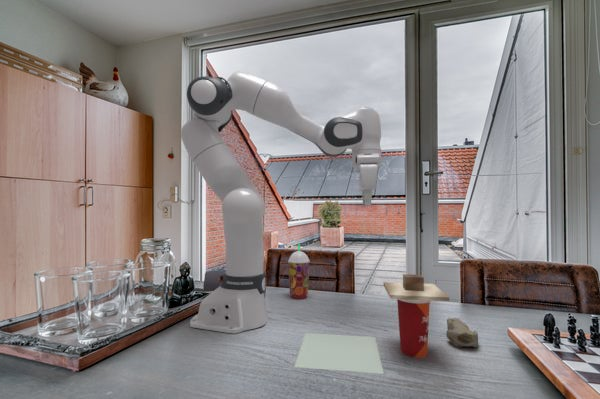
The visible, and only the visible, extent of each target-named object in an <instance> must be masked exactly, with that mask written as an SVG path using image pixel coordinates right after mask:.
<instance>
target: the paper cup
mask: <svg viewBox="0 0 600 399" xmlns="http://www.w3.org/2000/svg"><path fill="white" fill-rule="evenodd" d="M431 301H432V300H409V299H396V302H397V303H396V304H397V312H398V313H397V316H398V328H399V329H398V332H399V342H400V343H399V344H400V351H401V353H402V355H405V356H406V357H407V356H408V357H410V358H415V359H417V358H418V359H419V358H425V357H427V356H428V346H429V345H428V340H429V325H430V324H429V322H430V306H431Z"/></svg>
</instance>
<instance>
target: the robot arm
mask: <svg viewBox="0 0 600 399" xmlns="http://www.w3.org/2000/svg"><path fill="white" fill-rule="evenodd" d="M289 95H290V94H288V93H287V92H286V91H285V90H284V89H283V88H282V87H280V86H278V85H277V84H275V83H273V82H271V81H269V80H268V79H265V78H262V77H260V76H257V75H254V74H251V73H249V72H244V71H236V72H233V73H232V74H231V75H230V76H228V78H227V79H226V78H224V77H221V76H218V77H217V76H215V77H213V76H206V75H205V76H204V75H203V76H199V77H196V78H194V79H192V80H191V82H190V83H189V84H188V87H187V89H186V98H187V103H188V104H189V107H190V108H191V109H192V111H193V112H194V114H193V116H192V118H191V119H190V120H188V121H186V123H185V124H183V126H182V128H181V129H180V138H181V141H182V144H183V145H184V148H185V150H186V152H187V154H188V156H189V157H190V159H191V161H192V162H193V164H194V165H195V167H196V168H197V170H198V171H199V173H200V175H201V176H202V177H203V179H204V181H205V182H206V184H207V186H208V187H209V188H210V189H211V190H212V192H214V194H215V195H216V196H217V197H218V200H220V201H221V202H222V203H221V213H222V223H223V234H224V240H225V270H226V272H224V273H223V275H221V276H220V277H219V278H218V279H219V280H218V281H217V282H219V281H220V286H219V287H218V288H217V289H215V290H214V291H213V292H212V293H210V294H207V296H205V297H204V298H203V299H202V301H201V302H200V304H199V308H198V313H197V314H195V315H194V316H193V317H192V318H191V319H190V321H189V327H190V328H196V329H202V330H207V331H215V332H220V333H225V334H226V333H227V334H239V333H242V332H245V331H249V330H252V329H258V328H260V327H263V326H265V325H266V324H268V322H269V320H270V318H269V316H268V311H267V306H266V299H265V293H264V292H265V273H264V271H265V268H264V261H265V260H264V256H265V255H264V253H265V252H264V249H265V246H264V245H265V244H264V234H263V232H264V230H263V217H264V215H265V211H266V204H265V201H264V198H263V197H262V196H261V194H260V193H259V191H258V189H257V188H256V186H255V184H253V182H252V181H251V179H250V177H249V176H248V175H247V174H246V172H245V171H244V169H243V167H241V165H240V163H239V162H238V160H237V159H236V157H235V155H234V154H233V153H232V151H231V149H230V148H229V146H228V145H227V143H226V141H225V139H223V137H222V136H221V134H220V133H221V131H222V130H223V129H225V127H227V126H228V125H229V123H230V122H231V121H232V118H233V112H234V111H236V110H237V111H245V112H247V113H248V114H250V115H252V116H255V117H256V118H259V119H261V120H264V121H265V122H269V123H271V124H274V125H277V126H279V127H281V128H284V129H287V130H288V131H290V132H293V133H294V134H296V135H297V136H299V137H302V138H303V139H304V140H308V141H310V142H311V143H312V144H314V145H315V146H316V147H317V148H318V150H320V151H321V152H322V153H323V154H324V155H325V156H327V157H330V158H337V157H340V156H342V155H343V154H344V153H345V152H346V151H347V150H349V149H350V150H351V167H352V168H353V169H355V172H356V173H357V174H359V176H358V180H359V181H358V182H359V184H358V185H359V187H358V188H359V191H358V192H359V193H360V194H361V197H362V198H361V199H362V207H371V206H372V197H373V191H374V190H375V189H376V187H377V180H378V168H381V167H382V149H381V139H382V129H381V128H382V127H381V119H380V115H379V112H378V111H377V110H375V109H374V108H371V107H365V106H363V107H362V106H361V107H357V108H355V109H354V110H352V111H351V112H349V113H347V114H345V115H341V116H337V117H334V118H331V119H329V121H328V122H326V124H325V125H321V124H320V123H317V121H314V120H312V119H310V118H308V117H307V116H305V115H303V114H302V113H301V112H299V110H297V108H296V107H295V105H294V103H293V101H292V99H291V97H290V96H289Z"/></svg>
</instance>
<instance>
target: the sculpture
mask: <svg viewBox="0 0 600 399" xmlns="http://www.w3.org/2000/svg"><path fill="white" fill-rule="evenodd" d="M446 326H447V329H446V334H445V335H446V338H447V340H449V341H450V342H451V343H452V344H453V345H454V347H457V348H463V347H473V349H474V348H475V349H477V348H479V334H478V332H477V330H474V331H472V330H470V328H469V326H468V325H467V324H466V323H465V322H463V321H462V320H461V319H460V318H458V317H452V318H451V317H448V318H447V319H446Z"/></svg>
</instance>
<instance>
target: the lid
mask: <svg viewBox="0 0 600 399" xmlns="http://www.w3.org/2000/svg"><path fill="white" fill-rule="evenodd" d="M383 287H384V289H385V291H386V293H387V296H388V298H389V299H391V300H397V299H409V300H431V301H435V302H436V301H438V302H450V297H449V296H448V295H447V294H446V293H445V292H444V291H443V290H442V289H440V288H439V287H438V286H437V285H436V284H435V283H425V277H424V276H423V275H422V274H407V273H406V274H405V273H403V274H402V282H394V281H393V282H390V281H383Z"/></svg>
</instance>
